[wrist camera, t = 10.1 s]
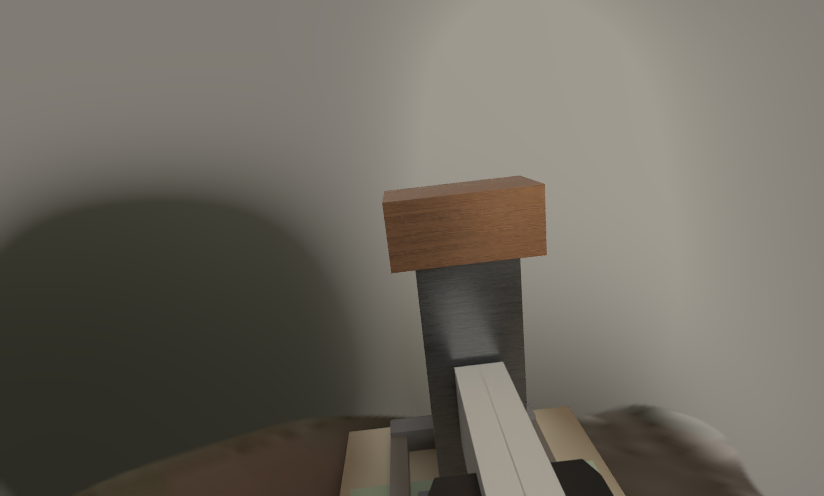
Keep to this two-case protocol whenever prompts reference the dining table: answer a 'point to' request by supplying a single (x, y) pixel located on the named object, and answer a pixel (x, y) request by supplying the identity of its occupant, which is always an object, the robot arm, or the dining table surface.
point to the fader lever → (466, 283)
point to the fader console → (417, 461)
